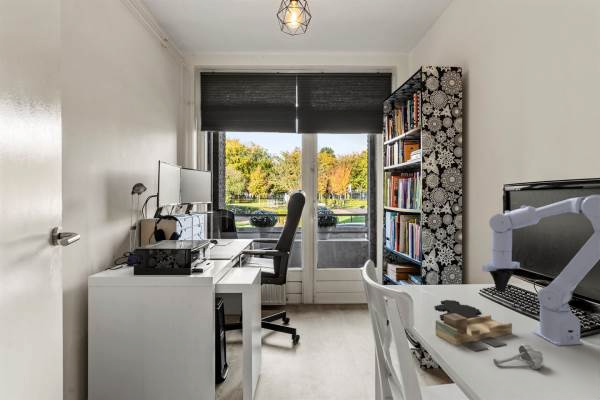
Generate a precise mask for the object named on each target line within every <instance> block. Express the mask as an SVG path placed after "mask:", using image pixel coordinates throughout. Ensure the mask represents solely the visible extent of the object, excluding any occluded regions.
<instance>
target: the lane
mask: <svg viewBox="0 0 600 400" xmlns="http://www.w3.org/2000/svg"><path fill="white" fill-rule="evenodd" d="M480 316H481V315H480ZM512 334H513V323H511V322H506V323H502V322H499V321H497V320H494V319H492V315H491V314H487V315H482V316H481V317H475V318H470V319H467V333H466V334H461V333H458V330H457V329H455V328H453V327H451V326H449V325H447V324H445V323H444V321H441V320H438V319H437V320H435V336H438V337H440V338H441V339H444V340H445V341H447V342H449V343H451V344H452V345H454V346H459V345H462V346H464V347H466V348H468V349H469V350H471V351H474V352H476V353H477V352H481V351H484V350H488V349H489V347H487V346H485V345H483V344H481V343H480V342H477V341H481V342H483V343H485V344H487V345H489V346H492V347H493V348H498V347H499V348H500V347H502V346H507V343H506V342H504V341H502V340H500V339H497V338H498V337H502V336H505V335H512Z"/></svg>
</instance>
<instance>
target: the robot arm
mask: <svg viewBox="0 0 600 400" xmlns="http://www.w3.org/2000/svg"><path fill="white" fill-rule="evenodd" d="M569 212H570V213H573V214H577V215H579V214H583V215H584V216H585V217H586V218H587V219H588V220H589V221H590V223H591V226H592V228H593V230H594V233H593V234H592V235H591V236H590V238H588V240H587V241H586V243H584V244H583V246H582V247H581V248H580V249H579V251H578V252H577V253H576V254H575V255H574V257H573V258H572V259H571V260H570V261H569V262H568V264H567V265H566V266H565V267H564V268H563V270H562V271H561V272H560V273H559V274H558V275H557V276H556V278H555V279H553V280H552V281H551V283H550V284H549V285H547V286H545V287H542V288H540V289H539V290H538V292H537V294H536V295H537V300H538V302H539V329H536V330H534V329H533V330H532V333H534V334H535V335H537V336H539V337H541V338H543V339H544V340H547V341H548V342H551V343H552V344H553V345H555V346H569V345H570V346H571V345H582V344H583V341H581V321H580V319H579V317H578V316H576V315H575V314H574V313H573V312H572V311H571V306H570V305H569V303H568V302H570V301H571V299H572V297H573V292H574V290H575V289H576V287H577V286H578V284H579V283H580V282H581V281H582V280H583V279H584V278H585V276H586V275H588V273H589V272H590V270H592V268H593V267H594V266H595V265H596V264H597V263H598V262H599V260H600V194H592V195H588V196H587V195H586V196H579V197H572V198H568V199H565V200H564V199H563V200H562V201H561V200H560V201H557V202H554V203H551V204H547V205H544V206H541V207H537V208H536V207H534V206H531V205H528V206H527V205H526V204H524V205H521V206H520V208H518V209H513V210H511V211H510V210H505V211H504V213H496V214H495V215H493V216H491V218H489V227H490V228H491V230H492V231H491V261H489V262H488V263H486V264H482V265H481V271H482V272H484V273H485V272H486V273H490V275H491V277H492V279H493V282H494V286H495V290H496V292H499V293H506V289H507V287H508V284H509V281H510V280H511V278H512V276H513V275H514V270H512V269H520V268H521V262H519V261H512V260H513V259H512V255H513V254H512V253H513V230H514V229H522V228H525V227H528V226H533V225H537V224H538V223H539V221H540V220H541V219H542V218H547V217H552V216H556V215H560V214H561V215H562V214H564V213H569Z"/></svg>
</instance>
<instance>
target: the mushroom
mask: <svg viewBox="0 0 600 400" xmlns="http://www.w3.org/2000/svg"><path fill="white" fill-rule="evenodd" d="M518 351H519V353H517V354H515V355H512V356H510V357H506V358H502V359H497V358H493V360H492V361H493V364H494V365H495V366H499V365H502V364H504V363H509V362H511V361H514V360H516V361H520V362H523V363H526V364H528V363H529V364H531V365H532V366H531V368H532V369H535V370H537V369H538V370H539V369H540V368H541V367H542V363H543V362H544V357H543V354H542V352H541V351H540V350H536V349H535V348H534V347H532V346H531V345H530V344H528V343H522V344H520V346H519V347H518Z"/></svg>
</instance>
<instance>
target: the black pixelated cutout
mask: <svg viewBox="0 0 600 400" xmlns="http://www.w3.org/2000/svg"><path fill="white" fill-rule="evenodd" d="M440 303H441V304H439V305H438V304H437V305H434V310H435V311H438V312H444V313H441V314H439V318H440V321H444V315H448V314H454V313H456V314H458V315H461V316H463V317H465V318H467V319H470V318H475V317H481V315H482V312H481V310H480V309H479V308H476V307H475V306H472V305H469V304H460V302H459V300H458V301H457V300H455V299H454V300H453V299H445V300H441V301H440ZM445 312H446V313H445Z"/></svg>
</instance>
